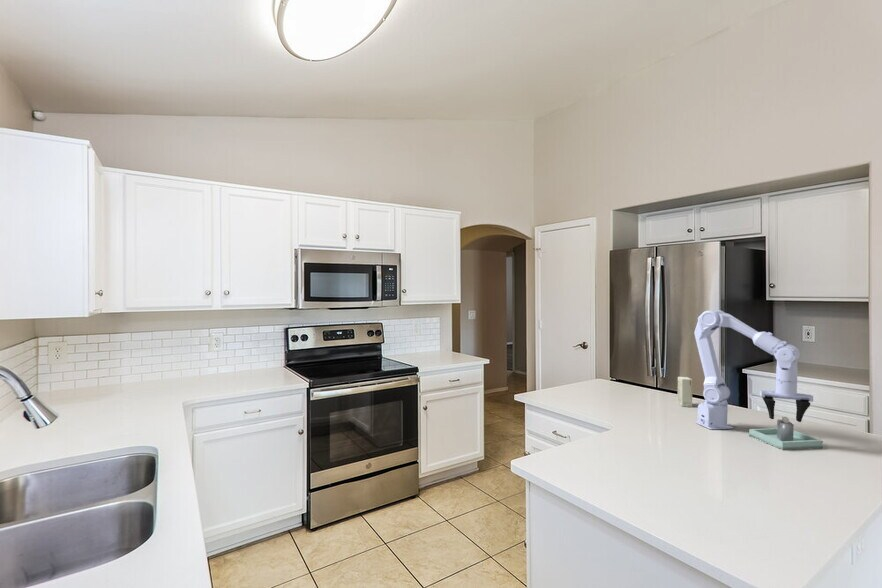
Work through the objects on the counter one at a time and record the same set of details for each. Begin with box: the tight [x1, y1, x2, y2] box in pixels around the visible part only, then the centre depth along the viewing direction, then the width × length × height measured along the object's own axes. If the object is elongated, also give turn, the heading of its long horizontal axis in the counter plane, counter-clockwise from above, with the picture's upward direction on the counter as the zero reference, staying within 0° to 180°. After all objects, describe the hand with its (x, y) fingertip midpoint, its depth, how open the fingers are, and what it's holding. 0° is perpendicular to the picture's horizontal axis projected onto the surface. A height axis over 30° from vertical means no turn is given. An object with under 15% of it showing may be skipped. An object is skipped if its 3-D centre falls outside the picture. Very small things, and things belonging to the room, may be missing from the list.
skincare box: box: [676, 376, 693, 408], centre depth 194 cm, size 6×4×12 cm
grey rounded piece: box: [776, 416, 795, 441], centre depth 149 cm, size 4×6×8 cm, turn 160°
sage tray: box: [748, 427, 824, 451], centre depth 149 cm, size 15×13×2 cm
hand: (784, 419), depth 149 cm, fingers open, 7 cm apart
